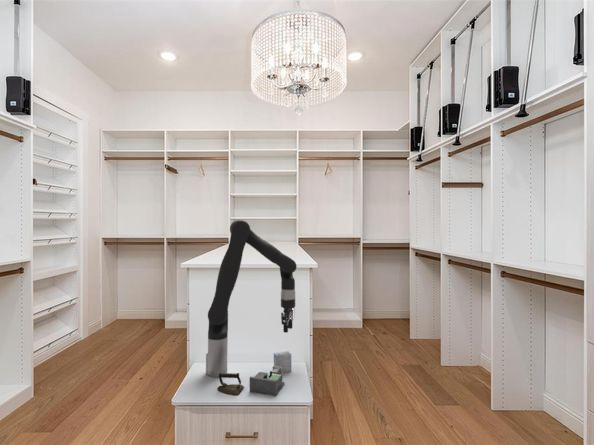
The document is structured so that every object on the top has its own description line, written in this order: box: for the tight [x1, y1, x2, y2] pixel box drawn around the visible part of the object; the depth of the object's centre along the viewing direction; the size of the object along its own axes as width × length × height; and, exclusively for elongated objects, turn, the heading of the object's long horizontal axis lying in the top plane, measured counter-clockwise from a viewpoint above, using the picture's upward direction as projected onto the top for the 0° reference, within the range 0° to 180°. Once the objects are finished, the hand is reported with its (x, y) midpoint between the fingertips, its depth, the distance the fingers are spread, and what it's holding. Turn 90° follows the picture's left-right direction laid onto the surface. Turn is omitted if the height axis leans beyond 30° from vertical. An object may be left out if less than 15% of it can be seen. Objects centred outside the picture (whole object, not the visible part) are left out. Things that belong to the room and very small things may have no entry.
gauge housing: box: [249, 371, 286, 397], centre depth 146 cm, size 12×11×6 cm
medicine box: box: [273, 351, 292, 374], centre depth 164 cm, size 8×4×9 cm, turn 110°
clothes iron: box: [216, 372, 245, 397], centre depth 143 cm, size 7×11×10 cm, turn 80°
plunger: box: [268, 365, 283, 379], centre depth 153 cm, size 7×9×4 cm
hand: (288, 330), depth 172 cm, fingers open, 6 cm apart
